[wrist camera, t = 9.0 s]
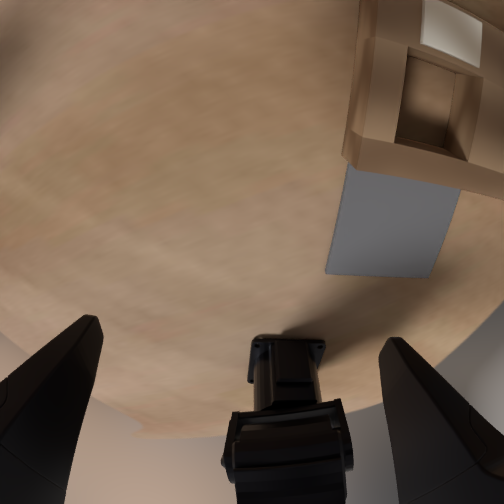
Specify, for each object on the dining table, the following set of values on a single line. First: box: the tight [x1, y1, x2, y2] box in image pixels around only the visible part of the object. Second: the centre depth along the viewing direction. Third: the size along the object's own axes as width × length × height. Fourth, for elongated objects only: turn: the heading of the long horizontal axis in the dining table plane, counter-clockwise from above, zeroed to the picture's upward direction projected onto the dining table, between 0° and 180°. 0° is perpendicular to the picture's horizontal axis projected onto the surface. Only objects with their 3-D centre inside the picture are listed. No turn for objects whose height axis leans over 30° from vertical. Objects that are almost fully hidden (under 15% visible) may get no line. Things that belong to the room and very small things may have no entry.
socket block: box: [342, 0, 504, 200], centre depth 14 cm, size 11×18×3 cm, turn 86°
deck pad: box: [325, 162, 461, 278], centre depth 20 cm, size 9×9×1 cm
